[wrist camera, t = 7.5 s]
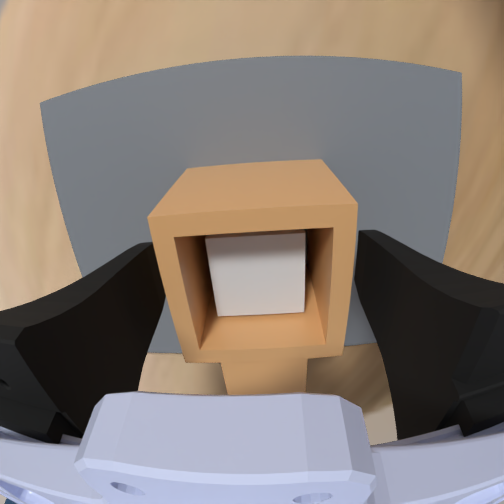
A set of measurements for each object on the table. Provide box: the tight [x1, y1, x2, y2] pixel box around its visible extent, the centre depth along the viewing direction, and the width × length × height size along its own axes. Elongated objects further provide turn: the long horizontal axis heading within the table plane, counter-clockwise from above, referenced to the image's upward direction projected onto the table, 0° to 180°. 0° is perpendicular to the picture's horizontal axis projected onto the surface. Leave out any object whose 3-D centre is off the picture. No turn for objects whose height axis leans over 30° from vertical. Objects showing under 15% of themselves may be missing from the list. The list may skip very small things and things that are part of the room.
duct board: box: [40, 56, 462, 353], centre depth 12 cm, size 18×14×4 cm
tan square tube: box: [147, 159, 358, 395], centre depth 12 cm, size 9×5×5 cm, turn 4°
